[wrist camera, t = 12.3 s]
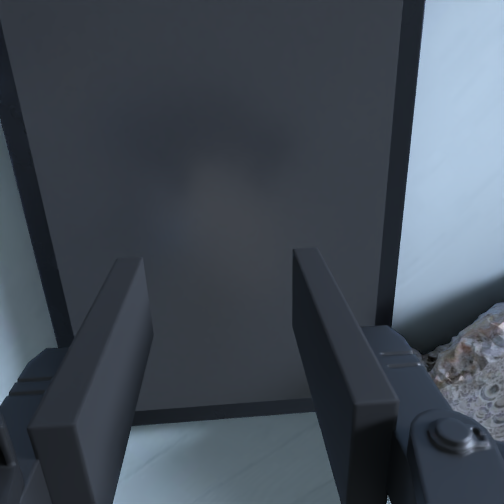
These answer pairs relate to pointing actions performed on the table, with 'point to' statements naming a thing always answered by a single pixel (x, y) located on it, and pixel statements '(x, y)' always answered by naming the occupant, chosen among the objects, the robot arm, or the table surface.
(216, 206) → the tablet
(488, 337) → the geological specimen
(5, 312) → the table surface
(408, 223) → the table surface
